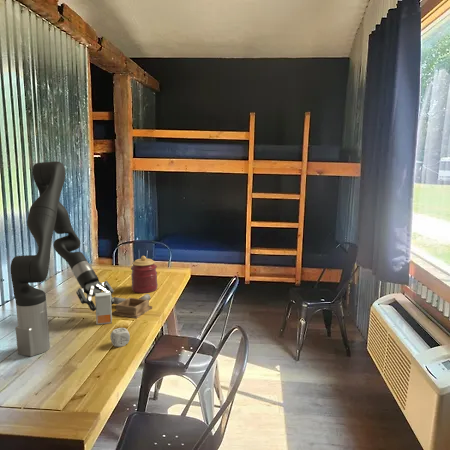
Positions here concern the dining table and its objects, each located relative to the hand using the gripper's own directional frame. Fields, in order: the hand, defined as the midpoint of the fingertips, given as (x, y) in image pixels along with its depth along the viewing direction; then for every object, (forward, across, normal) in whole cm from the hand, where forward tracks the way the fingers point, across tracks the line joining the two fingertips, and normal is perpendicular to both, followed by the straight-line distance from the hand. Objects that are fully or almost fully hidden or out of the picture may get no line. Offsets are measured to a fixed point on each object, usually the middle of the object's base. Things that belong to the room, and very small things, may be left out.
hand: (103, 306), depth 157 cm
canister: (-8, +38, +18) cm, 43 cm away
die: (+20, -9, -10) cm, 24 cm away
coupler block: (+2, +17, +7) cm, 18 cm away
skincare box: (+5, 0, +5) cm, 7 cm away
